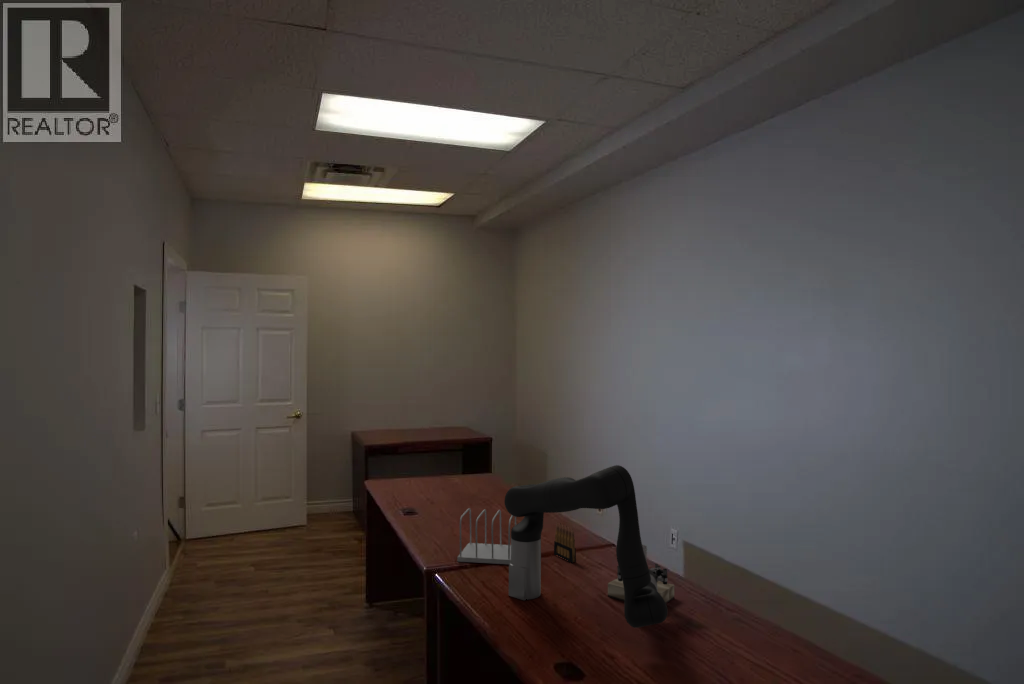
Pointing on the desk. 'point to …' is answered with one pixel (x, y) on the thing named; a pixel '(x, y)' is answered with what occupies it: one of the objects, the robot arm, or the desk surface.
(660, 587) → the socket block
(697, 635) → the desk surface
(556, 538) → the ammunition clip
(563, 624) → the desk surface
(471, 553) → the file sorter
